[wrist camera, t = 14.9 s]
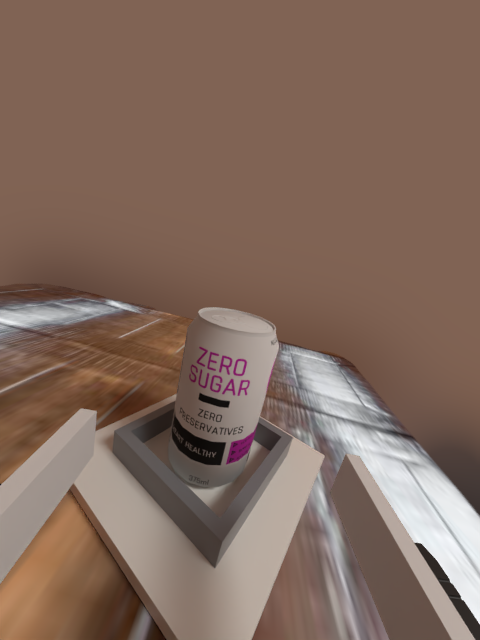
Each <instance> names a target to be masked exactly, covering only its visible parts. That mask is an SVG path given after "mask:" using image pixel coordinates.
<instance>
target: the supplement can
mask: <svg viewBox="0 0 480 640" xmlns="http://www.w3.org/2000/svg"><path fill="white" fill-rule="evenodd" d="M275 331H276V327H275V325H274V324H272V323H271V322H269V321H268V320H265V319H263V318H261V317H259V316H256V315H253V314H249V313H246V312H242V311H238V310H232V309H226V308H204V309H201V310H199V312H198V315H197V317H196V318H195V319H194V320H193V322H192V323H191V324H190V325H189V327H188V329H187V335H186V341H185V347H184V353H183V359H182V365H181V371H180V377H179V383H178V389H177V395H176V401H175V408H174V414H173V420H172V426H171V432H170V438H169V444H168V459H169V461H170V463H171V465H172V467H173V469H174V471H175V472H176V473H178V474H179V475H180V476H181V477H182V478H183V479H185V480H186V481H188V482H190V483H193V484H196V485H199V486H201V487H219V486H222V485H225V484H228V483H230V482H233V481H234V480H235V479H236V478H237V477H238V476H239V475H240V474H242V472H243V470H244V468H245V465H246V463H247V460H248V457H249V453H250V449H251V446H252V442H253V439H254V435H255V431H256V428H257V424H258V421H259V417H260V413H261V410H262V406H263V402H264V399H265V395H266V392H267V388H268V384H269V381H270V377H271V374H272V370H273V366H274V363H275V359H276V356H277V352H278V348H279V345H278V341H277V337H276V333H275Z"/></svg>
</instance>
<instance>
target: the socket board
mask: <svg viewBox="0 0 480 640" xmlns="http://www.w3.org/2000/svg"><path fill="white" fill-rule="evenodd" d="M176 395H177V394H175V395H173V396H171V397H169V398H166V399H164V400H162V401H160V402H158V403H156V404H153V405H151V406H149V407H147V408H145V409H143V410H141V411H138V412H136V413H134V414H132V415H130V416H128V417H125V418H123V419H121V420H119V421H117V422H115V423H112V424H110V425H108V426H106V427H104V428H102V429H99V430H97V431H95V442H94V455H93V457H92V458H91V460H90V461H89V462H88V464H87V465H86V466H85V468H84V469H83V471H82V472H81V473H80V475H79V476H78V477H77V479H76V480H75V482H74V483H73V484H72V486H71V487H70V488H69V489H70V490H71V492H72V493H73V495H74V496H75V498H76V500H77V501H78V503H79V504H80V506H81V507H82V509H83V510H84V512H85V514H86V515H87V517H88V518H89V520H90V521H91V523H92V524H93V526H94V528H95V529H96V531H97V532H98V534H99V535H100V537H101V538H102V540H103V542H104V543H105V545H106V546H107V548H108V549H109V551H110V553H111V554H112V556H113V557H114V559H115V560H116V562H117V563H118V565H119V567H120V568H121V570H122V571H123V573H124V574H125V576H126V577H127V579H128V581H129V582H130V584H131V585H132V587H133V588H134V590H135V591H136V593H137V595H138V596H139V598H140V599H141V601H142V602H143V604H144V605H145V607H146V609H147V610H148V612H149V613H150V615H151V616H152V618H153V620H154V621H155V623H156V624H157V626H158V627H159V629H160V630H161V632H162V634H163V635H164V637H165V638H166V640H252V637H253V635H254V632H255V630H256V627H257V625H258V622H259V620H260V617H261V615H262V612H263V610H264V607H265V605H266V602H267V600H268V597H269V595H270V592H271V590H272V587H273V585H274V582H275V580H276V577H277V575H278V572H279V570H280V567H281V565H282V562H283V559H284V557H285V554H286V552H287V549H288V547H289V544H290V542H291V539H292V537H293V534H294V532H295V529H296V527H297V524H298V522H299V519H300V517H301V514H302V512H303V509H304V507H305V504H306V502H307V499H308V497H309V494H310V492H311V489H312V487H313V484H314V482H315V479H316V477H317V474H318V472H319V469H320V467H321V464H322V462H323V459H324V457H325V456H324V455H323V454H321V453H319V452H318V451H316V450H314V449H313V448H311V447H309V446H308V445H306V444H305V443H303V442H301V441H300V440H298V439H296V438H295V437H293V436H291V435H290V434H288V433H287V432H285V431H283V430H282V429H280V428H278V427H277V426H275V425H273V424H272V423H270V422H269V421H267V420H265V419H264V418H262V417H259V421H258V424H257V428H256V431H255V435H254V439H253V442H252V446H251V449H250V453H249V457H248V460H247V463H246V465H245V468H244V470H243V472H242V474H240V475H239V476H238V477H237V478H236V479H235V480H234V481H233V482H230V483H228V484H225V485H222V486H219V487H201V486H199V485H196V484H193V483H190V482H188V481H186V480H185V479H183V478H182V477H181V476H180V475H179V474H178V473H176V472H175V471H174V469H173V467H172V465H171V463H170V461H169V459H168V444H169V438H170V432H171V426H172V420H173V414H174V408H175V401H176Z"/></svg>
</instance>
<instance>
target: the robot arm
mask: <svg viewBox="0 0 480 640" xmlns="http://www.w3.org/2000/svg"><path fill="white" fill-rule="evenodd" d="M96 415H97V411H94V410H88V409H82V408H81V409H80V410H79V411H78V412H77V413H76V414H74V415H73V416H72V417H71V418H70V419H69V420H68V421H67V422H66V423H65V424H64V425H63V426H62V427H61V428H60V429H59V430H58V431H57V432H56V433H55V434H54V435H53V436H52V437H50V438H49V439H48V440H47V441H46V442H45V443H44V444H43V445H42V446H41V447H40V448H39V449H38V450H37V451H36V452H35V453H34V454H33V455H32V456H31V457H30V458H29V459H28V460H26V461H25V462H24V463H23V464H22V465H21V466H20V467H19V468H18V469H17V470H16V471H15V472H14V473H13V474H12V475H11V476H10V477H9V478H8V479H7V480H6V481H5V482H4V483H3V484H0V583H1V582H2V581H3V579H4V578H5V577H6V575H7V574H8V572H9V571H10V570H11V568H12V567H13V566H14V564H15V563H16V561H17V560H18V559H19V557H20V556H21V555H22V553H23V552H24V550H25V549H26V548H27V546H28V545H29V544H30V542H31V541H32V539H33V538H34V537H35V535H36V534H37V533H38V531H39V530H40V528H41V527H42V526H43V524H44V523H45V522H46V520H47V519H48V517H49V516H50V515H51V513H52V512H53V510H54V509H55V508H56V506H57V505H58V504H59V502H60V501H61V499H62V498H63V497H64V495H65V494H66V493H67V491H68V490H69V488H70V487H71V486H72V484H73V483H74V482H75V480H76V479H77V477H78V476H79V475H80V473H81V472H82V471H83V469H84V468H85V466H86V465H87V464H88V462H89V461H90V460H91V458H92V457H93V455H94V442H95V428H96ZM330 494H331V497H332V499H333V502H334V504H335V506H336V509H337V511H338V514H339V516H340V519H341V521H342V524H343V526H344V529H345V531H346V534H347V536H348V538H349V541H350V543H351V546H352V548H353V551H354V553H355V556H356V558H357V561H358V563H359V566H360V568H361V571H362V573H363V575H364V578H365V580H366V583H367V585H368V588H369V590H370V593H371V595H372V598H373V600H374V603H375V605H376V607H377V610H378V612H379V615H380V617H381V620H382V622H383V625H384V627H385V630H386V632H387V635H388V637H389V639H390V640H480V624H479V623H478V621H477V620H476V618H475V617H474V615H473V614H472V612H471V611H470V609H469V608H468V606H467V605H466V603H465V602H464V601H463V600H462V599H461V596H460V594H459V593H458V591H457V590H456V588H455V587H454V585H453V584H451V583H450V580H449V578H448V577H447V575H446V574H445V572H444V571H443V569H442V568H441V566H440V565H439V563H438V562H437V560H436V559H435V558H434V557H433V556H432V555H431V554H430V553H429V552H428V550H427V549H426V548H425V547H424V546H423V545H422V544H420V543H414V542H413V540H412V539H411V537H410V536H409V534H408V532H407V531H406V529H405V528H404V526H403V524H402V523H401V521H400V520H399V518H398V517H397V515H396V513H395V512H394V510H393V509H392V507H391V505H390V504H389V502H388V501H387V499H386V498H385V496H384V494H383V493H382V491H381V490H380V488H379V486H378V485H377V483H376V482H375V480H374V479H373V477H372V475H371V474H370V472H369V471H368V469H367V468H366V466H365V464H364V463H363V461H362V460H361V458H360V456H356V455H350V454H346V455H345V457H344V460H343V462H342V465H341V467H340V469H339V472H338V474H337V477H336V479H335V481H334V484H333V486H332V489H331V491H330Z"/></svg>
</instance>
